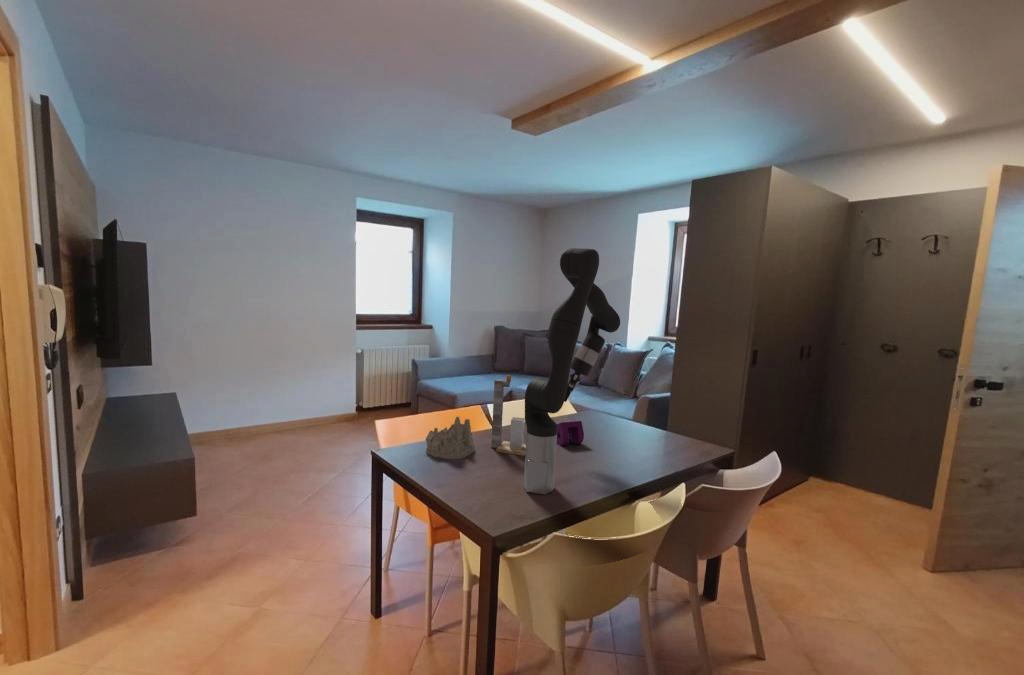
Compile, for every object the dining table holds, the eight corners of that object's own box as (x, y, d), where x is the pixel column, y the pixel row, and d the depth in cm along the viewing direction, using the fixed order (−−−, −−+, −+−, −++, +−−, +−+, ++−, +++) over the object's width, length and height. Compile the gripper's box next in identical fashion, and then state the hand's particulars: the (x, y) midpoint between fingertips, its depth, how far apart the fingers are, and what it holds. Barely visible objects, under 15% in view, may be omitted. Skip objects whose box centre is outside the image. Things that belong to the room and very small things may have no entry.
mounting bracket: (544, 450, 186) (564, 444, 171) (541, 430, 189) (561, 422, 173) (563, 448, 190) (585, 442, 174) (560, 428, 193) (581, 420, 177)
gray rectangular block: (523, 446, 169) (524, 418, 168) (521, 449, 165) (522, 421, 164) (511, 444, 170) (513, 417, 169) (509, 448, 165) (510, 420, 164)
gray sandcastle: (481, 450, 164) (480, 410, 163) (452, 464, 151) (450, 421, 150) (450, 443, 173) (449, 406, 172) (420, 456, 159) (418, 415, 158)
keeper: (524, 455, 161) (528, 379, 159) (488, 450, 164) (491, 376, 162) (530, 446, 172) (534, 375, 169) (496, 441, 175) (499, 372, 173)
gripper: (594, 364, 151) (572, 406, 151) (592, 366, 165) (572, 404, 165) (575, 354, 152) (553, 396, 152) (575, 356, 166) (555, 394, 166)
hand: (563, 400), depth 158 cm, fingers open, 8 cm apart
